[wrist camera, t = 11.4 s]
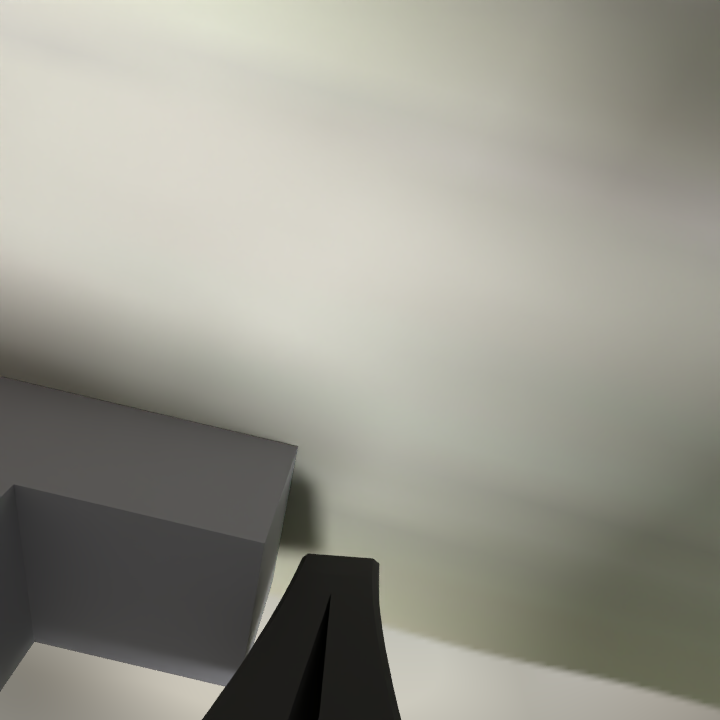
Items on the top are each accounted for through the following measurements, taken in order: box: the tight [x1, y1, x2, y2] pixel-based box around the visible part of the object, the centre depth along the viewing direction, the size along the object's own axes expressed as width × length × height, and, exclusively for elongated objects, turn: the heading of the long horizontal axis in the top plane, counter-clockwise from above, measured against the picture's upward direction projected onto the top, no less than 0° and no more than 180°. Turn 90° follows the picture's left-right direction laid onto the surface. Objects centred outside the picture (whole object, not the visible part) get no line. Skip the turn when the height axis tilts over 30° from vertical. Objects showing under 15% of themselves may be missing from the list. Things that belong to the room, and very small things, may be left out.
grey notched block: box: [0, 376, 298, 691], centre depth 10 cm, size 8×4×5 cm, turn 78°
